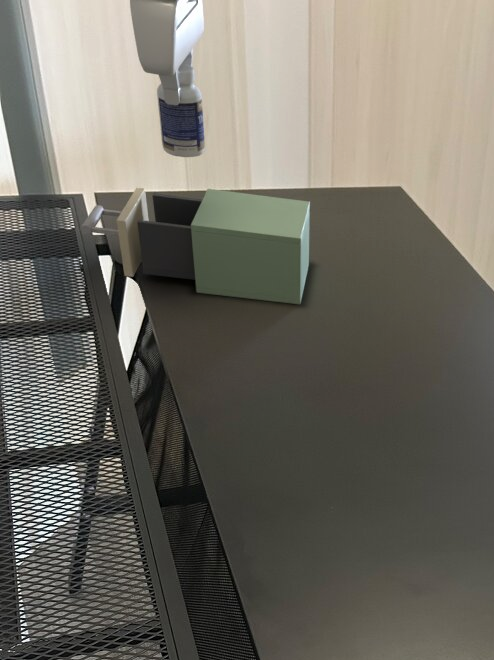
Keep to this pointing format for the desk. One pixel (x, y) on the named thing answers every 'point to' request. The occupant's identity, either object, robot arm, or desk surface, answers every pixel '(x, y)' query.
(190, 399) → the desk surface
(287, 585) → the desk surface
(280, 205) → the green drawer cabinet
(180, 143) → the pill bottle
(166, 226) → the drawer
